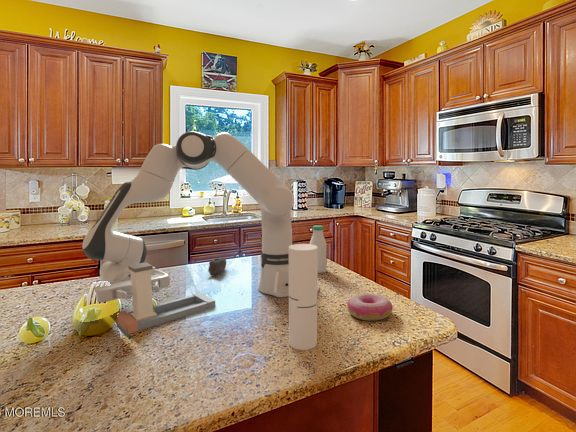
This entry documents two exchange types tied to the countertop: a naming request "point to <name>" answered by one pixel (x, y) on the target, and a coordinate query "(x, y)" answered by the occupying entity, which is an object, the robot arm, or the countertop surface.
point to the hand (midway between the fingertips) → (143, 292)
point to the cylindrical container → (303, 296)
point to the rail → (165, 313)
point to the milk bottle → (320, 248)
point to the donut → (369, 307)
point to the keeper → (141, 291)
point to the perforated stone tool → (217, 266)
